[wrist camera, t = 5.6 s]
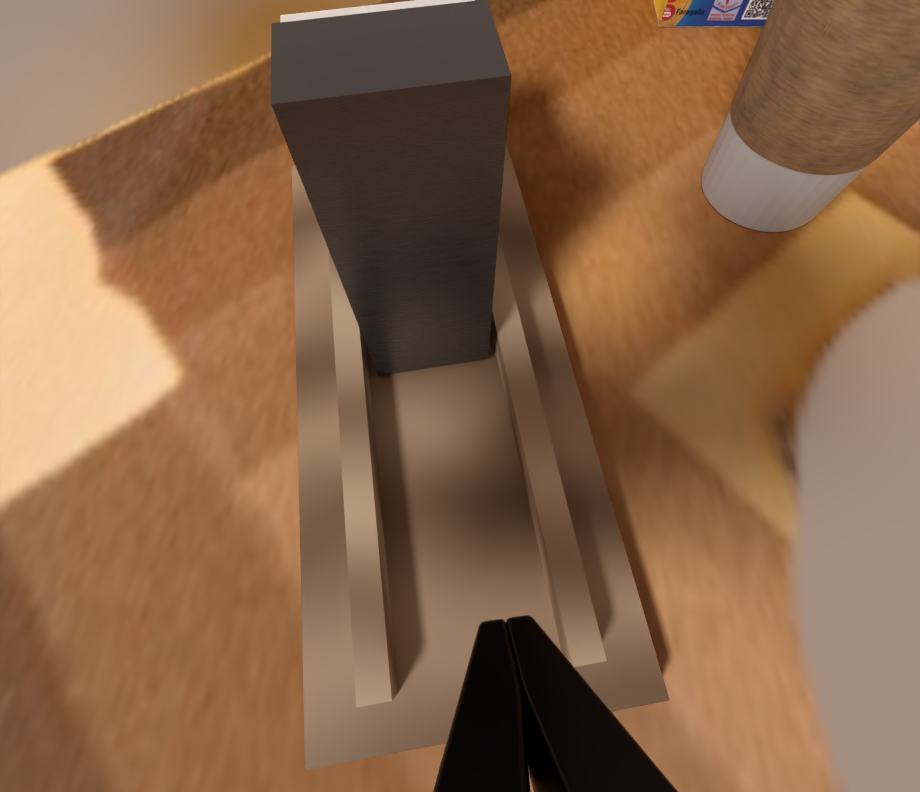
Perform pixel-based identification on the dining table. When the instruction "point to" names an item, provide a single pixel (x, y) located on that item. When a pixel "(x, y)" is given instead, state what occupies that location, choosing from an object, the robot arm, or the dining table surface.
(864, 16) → the coffee cup
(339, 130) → the dark grey rectangular block
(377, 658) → the rail
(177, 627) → the dining table surface
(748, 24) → the beverage box
